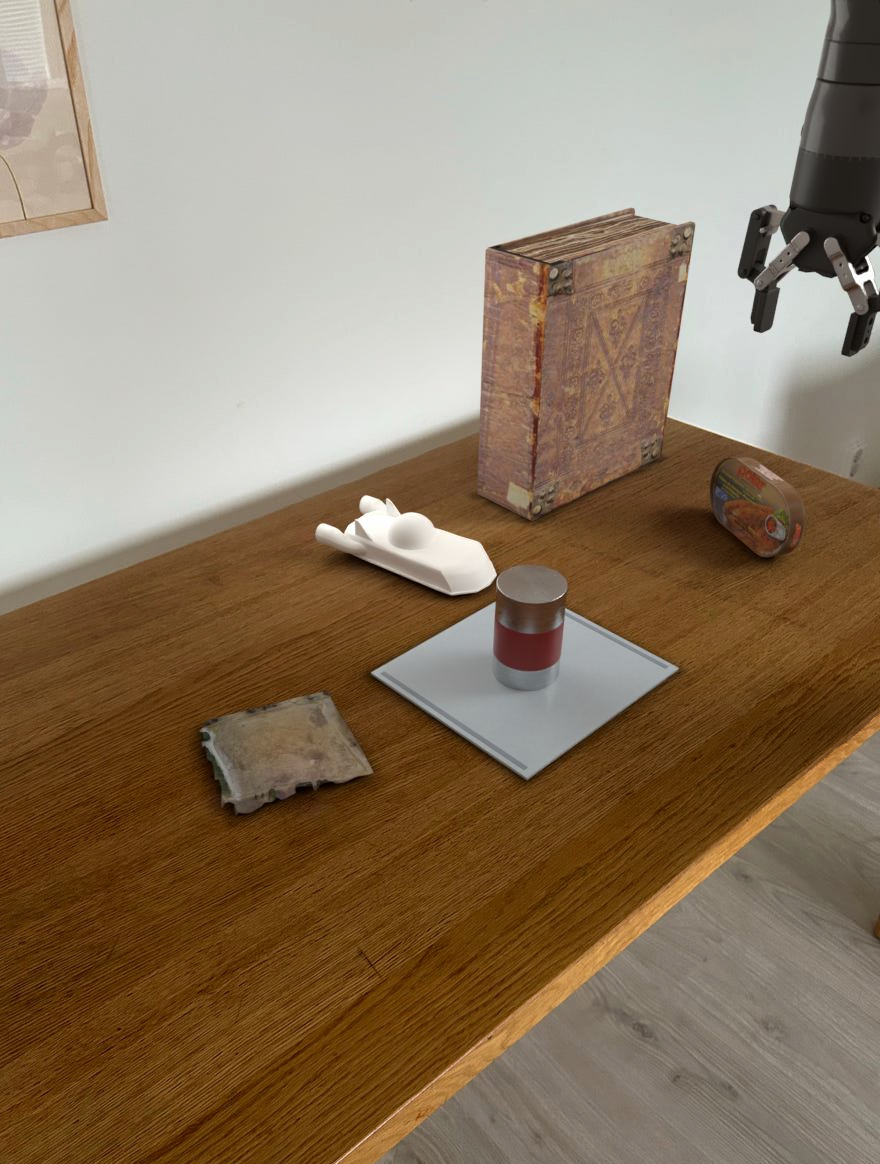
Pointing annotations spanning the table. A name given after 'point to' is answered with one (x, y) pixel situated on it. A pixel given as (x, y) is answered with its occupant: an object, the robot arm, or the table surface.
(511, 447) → the book
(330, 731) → the parchment
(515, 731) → the square board
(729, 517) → the tin
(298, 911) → the table surface
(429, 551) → the white toy spaceship
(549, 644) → the can
